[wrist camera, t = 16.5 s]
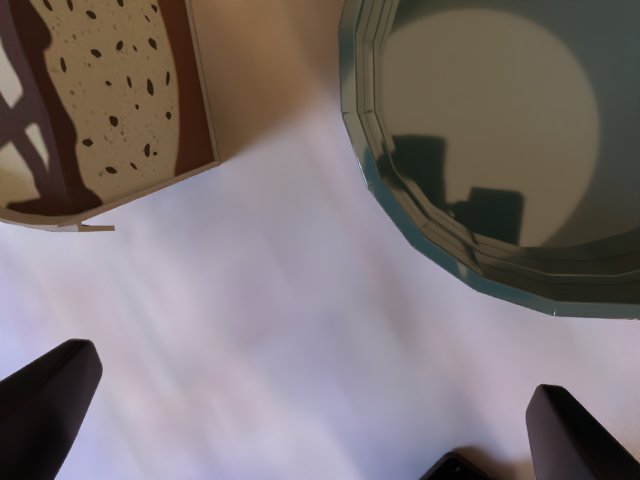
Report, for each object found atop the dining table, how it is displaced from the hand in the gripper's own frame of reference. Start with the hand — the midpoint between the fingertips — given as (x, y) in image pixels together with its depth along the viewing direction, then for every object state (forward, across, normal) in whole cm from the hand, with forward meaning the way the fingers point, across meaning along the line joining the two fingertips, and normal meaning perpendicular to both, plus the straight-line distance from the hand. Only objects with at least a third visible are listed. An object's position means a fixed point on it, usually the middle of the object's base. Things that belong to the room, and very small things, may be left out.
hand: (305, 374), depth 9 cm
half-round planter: (+15, +10, -2) cm, 18 cm away
